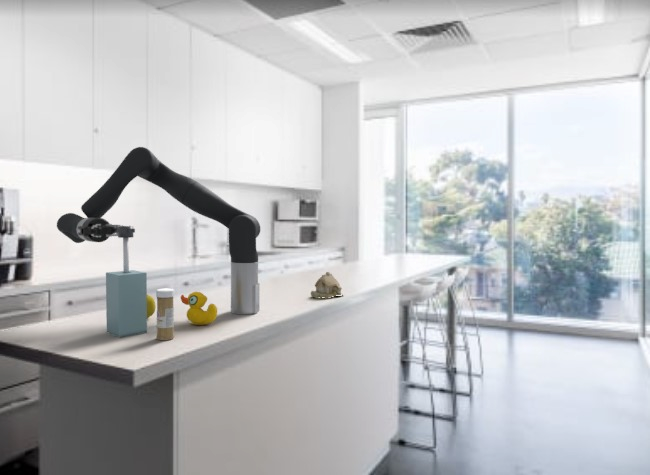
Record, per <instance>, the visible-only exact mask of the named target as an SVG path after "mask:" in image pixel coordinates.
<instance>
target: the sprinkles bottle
mask: <svg viewBox="0 0 650 475" xmlns="http://www.w3.org/2000/svg"><path fill="white" fill-rule="evenodd" d="M155 291H156V292H155V296H156V302H157V303H156V306H157V307H156V340H158V341H167V340H173V339H174V338H175V335H174V325H175V323H174V321H175V320H174V319H175V318H174V316H175V314H174V313H175V311H174V310H175V308H174V297H175V289H173V288H165V287H164V288H158V289H156V290H155Z"/></svg>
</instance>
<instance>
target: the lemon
mask: <svg viewBox="0 0 650 475" xmlns="http://www.w3.org/2000/svg"><path fill="white" fill-rule="evenodd" d="M156 306H157V305H156V301H155V298H154V297H153V296H151V295H149V294H147V320H148V319H149V318H150V317H152V316H153V315H154V314H155V311H156V309H157V307H156Z"/></svg>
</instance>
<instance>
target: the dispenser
mask: <svg viewBox="0 0 650 475" xmlns="http://www.w3.org/2000/svg"><path fill="white" fill-rule="evenodd" d="M147 286H148V285H147V272H144V271H140V270H135V269H132V270H129V273H124V270H121V271H119V270H118V271H109V272H105V288H106V289H105V296H106V297H105V299H106V301H105V302H106V303H105V304H106V305H105V306H106V307H105V309H106V316H105V318H106V333H108V334H110V335H112V336H115V337H117V338H124V337H130V336H134V335H136V336H137V335H140V334H145V333H146V334H147V333H148V319H147V295H148V293H147V291H148V290H147Z"/></svg>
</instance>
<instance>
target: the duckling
mask: <svg viewBox="0 0 650 475" xmlns="http://www.w3.org/2000/svg"><path fill="white" fill-rule="evenodd" d="M180 300H181V302H182V304H184V305H186V306H187V305H188V306H189V308H188V310H187V311H186V318H187V319H188V321H189V322H190V323H191V324H192V325H196V326H199V325H200V326H204V325H208V324H211V323H213V322H214V321H216V319H217V316H218V308H217V306H216V304H214V303H210V304H209V305H208V307H207V309H206V310H204V309H202V308H203V307H204V306H205V304H206V303H207V302H208V297H207V296H206V295H204V293H202V292H200V291H193V292H191V293H189V295H188V296H187V297H186V296H184V294H181V296H180Z"/></svg>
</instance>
